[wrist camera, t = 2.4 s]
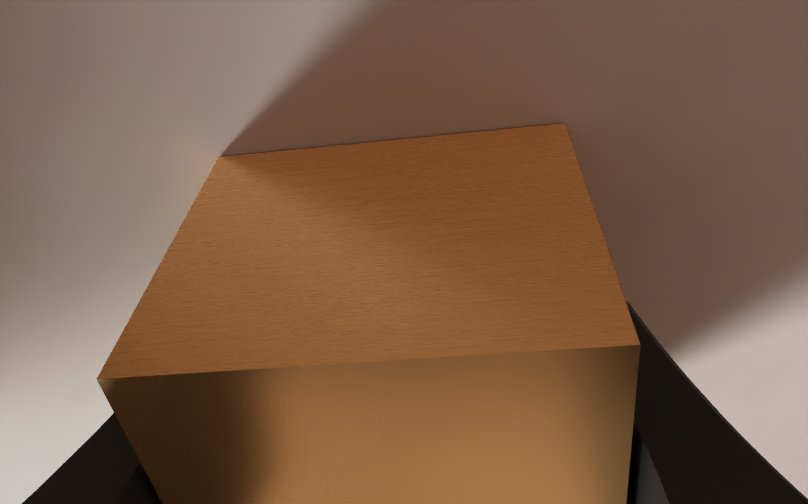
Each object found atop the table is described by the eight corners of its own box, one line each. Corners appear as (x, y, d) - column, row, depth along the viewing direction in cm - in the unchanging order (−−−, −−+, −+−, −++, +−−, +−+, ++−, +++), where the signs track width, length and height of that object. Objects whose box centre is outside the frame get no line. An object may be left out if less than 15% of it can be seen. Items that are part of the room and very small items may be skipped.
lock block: (563, 416, 13) (611, 671, 10) (304, 429, 14) (254, 677, 10) (565, 123, 10) (640, 344, 6) (218, 156, 10) (96, 378, 7)
